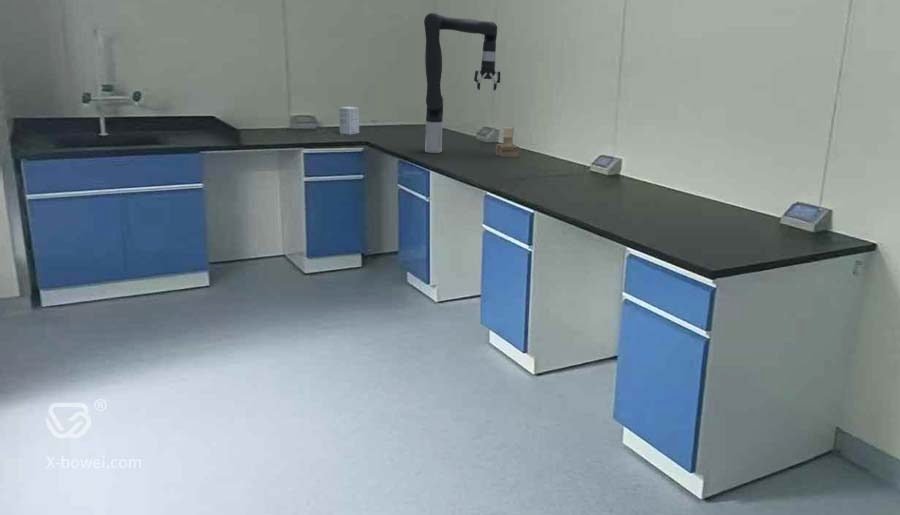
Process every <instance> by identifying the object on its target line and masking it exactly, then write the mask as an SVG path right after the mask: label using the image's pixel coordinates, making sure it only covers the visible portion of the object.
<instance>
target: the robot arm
mask: <svg viewBox="0 0 900 515" xmlns="http://www.w3.org/2000/svg"><path fill="white" fill-rule="evenodd" d="M423 23H424V32H425V55H424V56H425V58H424V60H425V62H424V63H425V77H426V96H425V97H426V98H425V104H426V115H425V116H426V117H425V134H424V135H425V136H424V137H425V138H424V141H425V142H424V151H425V153H432V154H436V153H437V154H439V153H442V150H443V118H444V112H443V111H444V98H443V95H442V92H441V81H442V80H441V79H442V72H443V54H442V53H443V52H442V48H441V47H442V46H441V42H440V35H441V34H440V33H441V32H440V31H441V30H450V31H456V32H462V33H466V34H477V35H478V34H479V35H483V36H484V37H483V46H482V54H481V65H480V66H481V67H480V70H475V71H474V77H473V82H476V83H477V84H476V89H477V90H478V91H480V90H481V82H482V80H491V81H492V82H493V88H492V90H493V92H494V91H496V90H497V87H498V86H497V84H499V83H501V71H496V60H497V59H496V57H497V56H496V55H497V54H496V52H497V50H496V48H497V38H498V37H497V35H498V26H497V24H496V22H494V21H484V20H483V21H482V20H477V19H472V18H471V19H470V18H458V17H457V18H454V17H448V16H444V15H440V14H438V13H436V12H430V13H428V14H426V16H425V17H424V20H423ZM479 75H480V77H479V78H478V76H479ZM495 75H496V76H497V78H496V79H495V77H494V76H495Z"/></svg>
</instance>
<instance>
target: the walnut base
mask: <svg viewBox="0 0 900 515" xmlns="http://www.w3.org/2000/svg"><path fill="white" fill-rule="evenodd" d="M495 155H496V156H499V157H501V158H519V156H520V146H518V145H515V144H512V146H503V143H497V144H495Z"/></svg>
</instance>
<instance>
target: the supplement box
mask: <svg viewBox="0 0 900 515" xmlns="http://www.w3.org/2000/svg"><path fill="white" fill-rule="evenodd" d="M338 111H339V112H338V113H339V114H338V116H339V117H338V118H339V120H338V121H339V133H340V134H342V135H350V136H351V135H356V134H360V114H359V113H360V108H359V107H356V106H341V107H339V108H338Z"/></svg>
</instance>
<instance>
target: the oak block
mask: <svg viewBox="0 0 900 515" xmlns="http://www.w3.org/2000/svg"><path fill="white" fill-rule="evenodd" d="M502 139H503V140H502V141H503V142H502V144H503V146H512V144H513V142H514V141H513V140H514V127H513V126H504V127H503V138H502Z"/></svg>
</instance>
